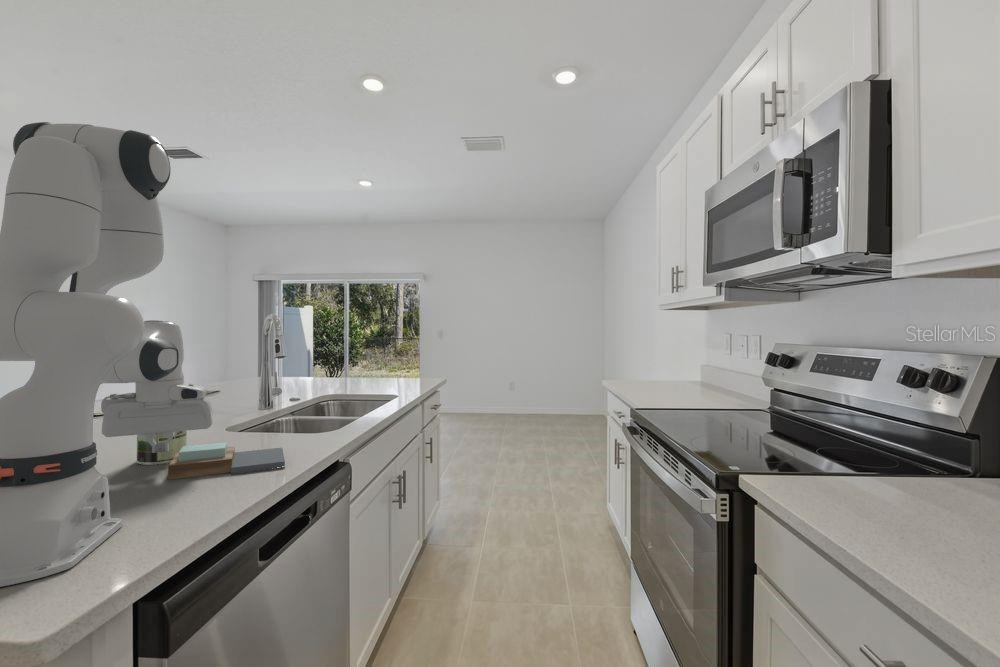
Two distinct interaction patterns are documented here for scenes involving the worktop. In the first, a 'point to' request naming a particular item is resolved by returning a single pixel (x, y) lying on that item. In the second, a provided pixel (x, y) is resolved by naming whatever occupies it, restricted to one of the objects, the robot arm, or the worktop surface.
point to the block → (203, 451)
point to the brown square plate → (200, 466)
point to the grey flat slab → (257, 460)
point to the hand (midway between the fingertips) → (160, 451)
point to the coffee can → (151, 458)
